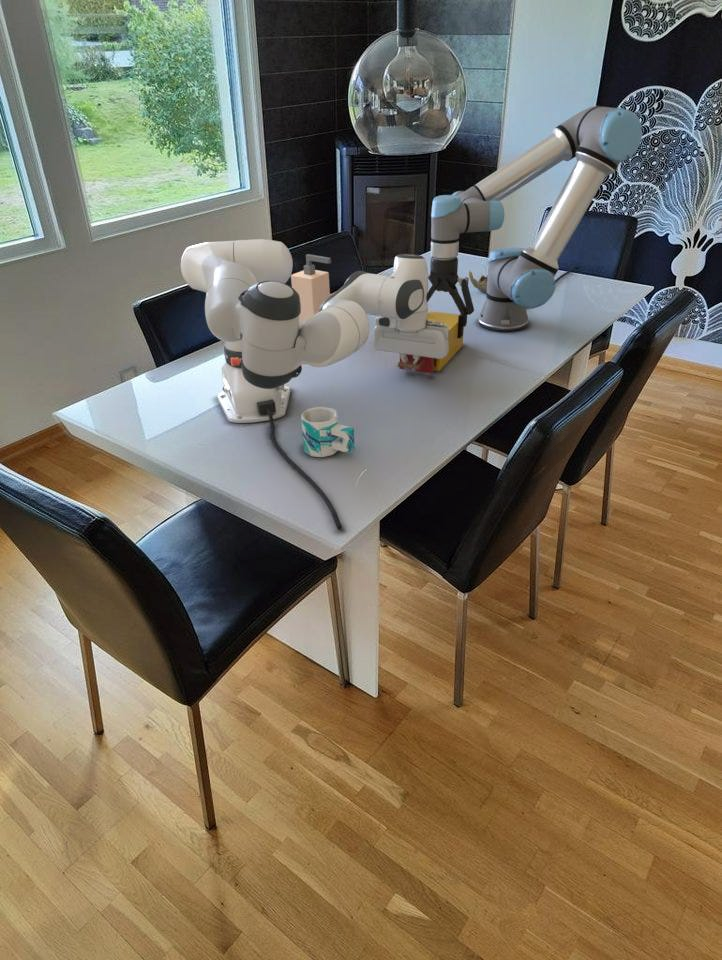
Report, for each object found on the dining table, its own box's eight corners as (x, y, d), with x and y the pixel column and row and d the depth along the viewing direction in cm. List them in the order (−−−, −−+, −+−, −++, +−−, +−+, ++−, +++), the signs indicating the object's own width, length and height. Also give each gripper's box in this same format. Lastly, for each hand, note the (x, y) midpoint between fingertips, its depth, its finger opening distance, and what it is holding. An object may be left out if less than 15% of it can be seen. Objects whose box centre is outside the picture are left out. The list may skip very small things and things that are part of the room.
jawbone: (458, 276, 240) (475, 251, 236) (488, 295, 247) (504, 271, 244) (468, 284, 232) (486, 259, 229) (499, 304, 240) (516, 280, 236)
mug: (318, 435, 155) (315, 403, 150) (361, 448, 149) (360, 415, 145) (296, 451, 149) (293, 418, 145) (340, 465, 143) (338, 431, 139)
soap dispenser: (294, 325, 217) (288, 256, 206) (311, 317, 223) (306, 249, 211) (325, 332, 211) (320, 261, 199) (342, 324, 217) (338, 255, 205)
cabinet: (439, 371, 183) (440, 339, 178) (403, 365, 187) (403, 334, 182) (462, 345, 199) (464, 315, 194) (429, 340, 203) (430, 311, 198)
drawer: (424, 381, 176) (425, 355, 172) (391, 376, 179) (391, 350, 175) (455, 348, 194) (456, 324, 190) (424, 344, 198) (425, 320, 194)
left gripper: (453, 318, 169) (451, 369, 177) (378, 310, 176) (380, 359, 184) (445, 327, 164) (443, 379, 172) (369, 318, 172) (371, 368, 179)
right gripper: (489, 256, 182) (483, 334, 194) (410, 250, 190) (409, 325, 202) (481, 264, 176) (476, 343, 188) (400, 256, 185) (400, 333, 197)
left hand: (410, 368), depth 178 cm, fingers closed, pressing on drawer
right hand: (441, 334), depth 195 cm, fingers closed on cabinet, 11 cm apart
